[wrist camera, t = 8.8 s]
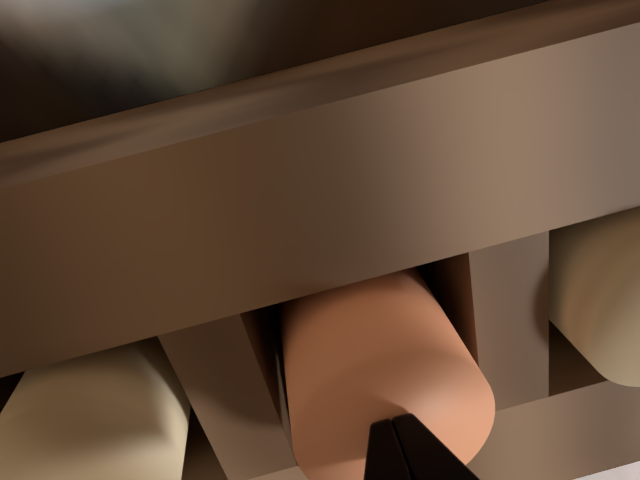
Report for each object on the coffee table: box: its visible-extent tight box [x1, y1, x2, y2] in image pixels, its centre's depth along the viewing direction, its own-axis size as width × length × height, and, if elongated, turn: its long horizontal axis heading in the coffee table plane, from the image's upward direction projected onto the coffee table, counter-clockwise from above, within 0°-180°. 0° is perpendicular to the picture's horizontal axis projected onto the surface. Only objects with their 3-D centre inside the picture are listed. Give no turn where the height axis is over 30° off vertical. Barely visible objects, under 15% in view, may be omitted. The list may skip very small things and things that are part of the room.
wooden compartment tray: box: [0, 0, 640, 480], centre depth 13 cm, size 20×12×5 cm, turn 103°
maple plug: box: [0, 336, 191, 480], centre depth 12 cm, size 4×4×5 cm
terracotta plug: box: [278, 267, 495, 480], centre depth 12 cm, size 4×4×5 cm
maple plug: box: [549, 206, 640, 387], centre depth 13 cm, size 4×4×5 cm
